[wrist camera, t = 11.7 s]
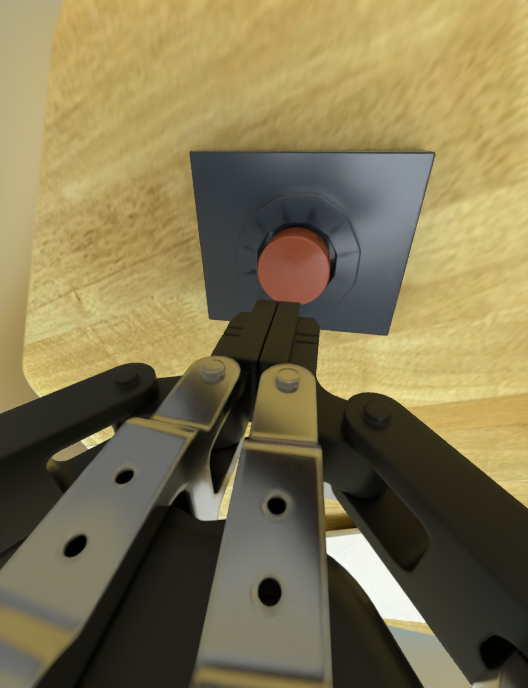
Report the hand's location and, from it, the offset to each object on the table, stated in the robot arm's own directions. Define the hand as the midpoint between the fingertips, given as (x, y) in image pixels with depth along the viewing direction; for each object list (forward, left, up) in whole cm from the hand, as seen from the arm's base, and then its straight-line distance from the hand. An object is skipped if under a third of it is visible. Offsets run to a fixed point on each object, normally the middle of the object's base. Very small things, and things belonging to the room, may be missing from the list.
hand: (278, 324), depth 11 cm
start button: (0, 0, -7) cm, 7 cm away
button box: (0, 0, -11) cm, 11 cm away
